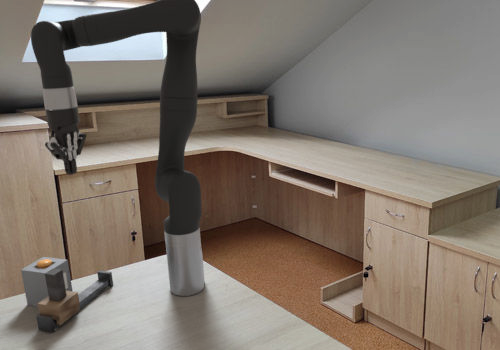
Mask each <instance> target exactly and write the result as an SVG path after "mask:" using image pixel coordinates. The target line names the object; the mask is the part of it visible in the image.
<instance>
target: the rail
mask: <svg viewBox="0 0 500 350" xmlns="http://www.w3.org/2000/svg"><path fill="white" fill-rule="evenodd" d="M112 273H113V272H112V271H107V270H98V271H97V272H96V274H97V280H96V281H95V282H92V284H90V285H89V286H88V287H86V288H85V289H84V290H83V291H81V292H80V293H78V297H79V303H80V306H79V309H80V310H79V311H81V310H82V309H83V308H84V307H86V306H87V305H88V304H90V302H92V301H93V300H95V298H97V297H98V296H100V295H101V294H102V293H103V292H104V291H106V290H107V289H108V288H110V287H113V286H114V280H113V274H112ZM76 313H78V312H76ZM76 313H75V314H76ZM72 317H73V316H71V317H70V318H72ZM35 318H36V319H35V320H36V325H37V329H38V330H37V331H38V332H42V333H47V334H53V333H55V332H56V330H57V329H58V328H59V327H60V326H62V325H63V324H61V325H57V320H54V319H53V316H49V315H43V314H39V313H38V314H37V315H35ZM66 321H68V320H66ZM66 321H65V322H66Z"/></svg>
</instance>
